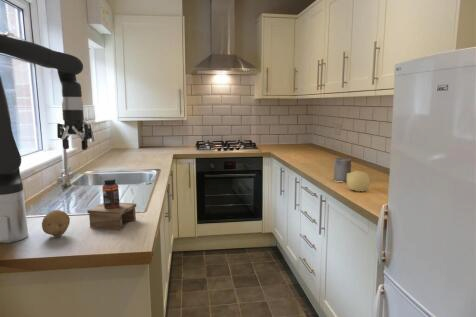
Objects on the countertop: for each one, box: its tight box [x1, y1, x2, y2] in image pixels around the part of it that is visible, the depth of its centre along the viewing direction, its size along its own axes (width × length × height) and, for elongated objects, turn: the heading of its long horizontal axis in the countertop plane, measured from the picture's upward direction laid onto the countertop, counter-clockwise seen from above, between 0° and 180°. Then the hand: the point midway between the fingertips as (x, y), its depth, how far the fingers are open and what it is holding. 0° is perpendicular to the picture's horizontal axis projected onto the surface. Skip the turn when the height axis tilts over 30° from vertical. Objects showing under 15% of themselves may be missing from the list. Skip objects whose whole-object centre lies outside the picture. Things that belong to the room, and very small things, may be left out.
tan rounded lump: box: [346, 170, 371, 192], centre depth 188 cm, size 12×12×11 cm
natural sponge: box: [41, 209, 71, 238], centre depth 125 cm, size 9×9×10 cm
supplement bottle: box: [102, 177, 121, 209], centre depth 138 cm, size 6×6×11 cm
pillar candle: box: [333, 157, 352, 182], centre depth 210 cm, size 10×10×15 cm
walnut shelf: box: [86, 202, 137, 231], centre depth 139 cm, size 12×14×7 cm
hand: (75, 149), depth 141 cm, fingers open, 8 cm apart
